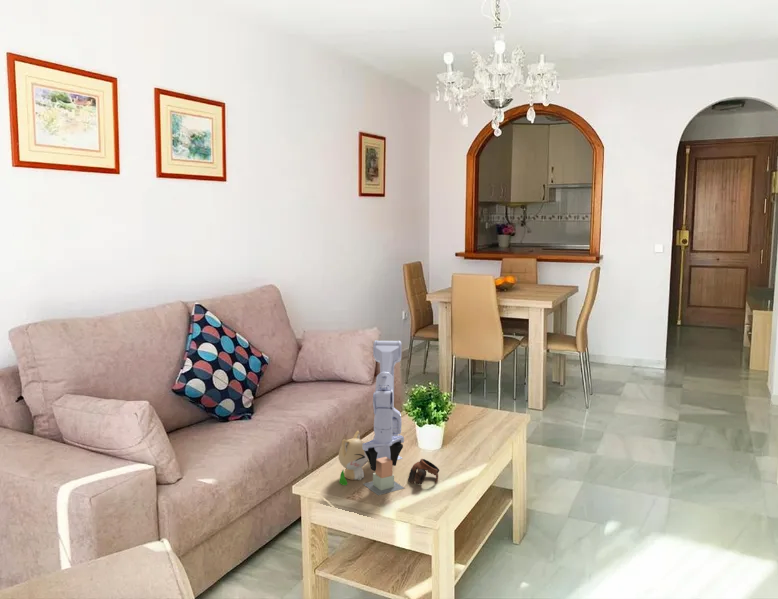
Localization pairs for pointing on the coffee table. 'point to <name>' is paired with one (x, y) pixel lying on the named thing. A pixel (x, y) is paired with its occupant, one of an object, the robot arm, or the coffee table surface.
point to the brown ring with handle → (422, 471)
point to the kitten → (352, 459)
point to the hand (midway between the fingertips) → (383, 467)
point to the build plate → (380, 492)
